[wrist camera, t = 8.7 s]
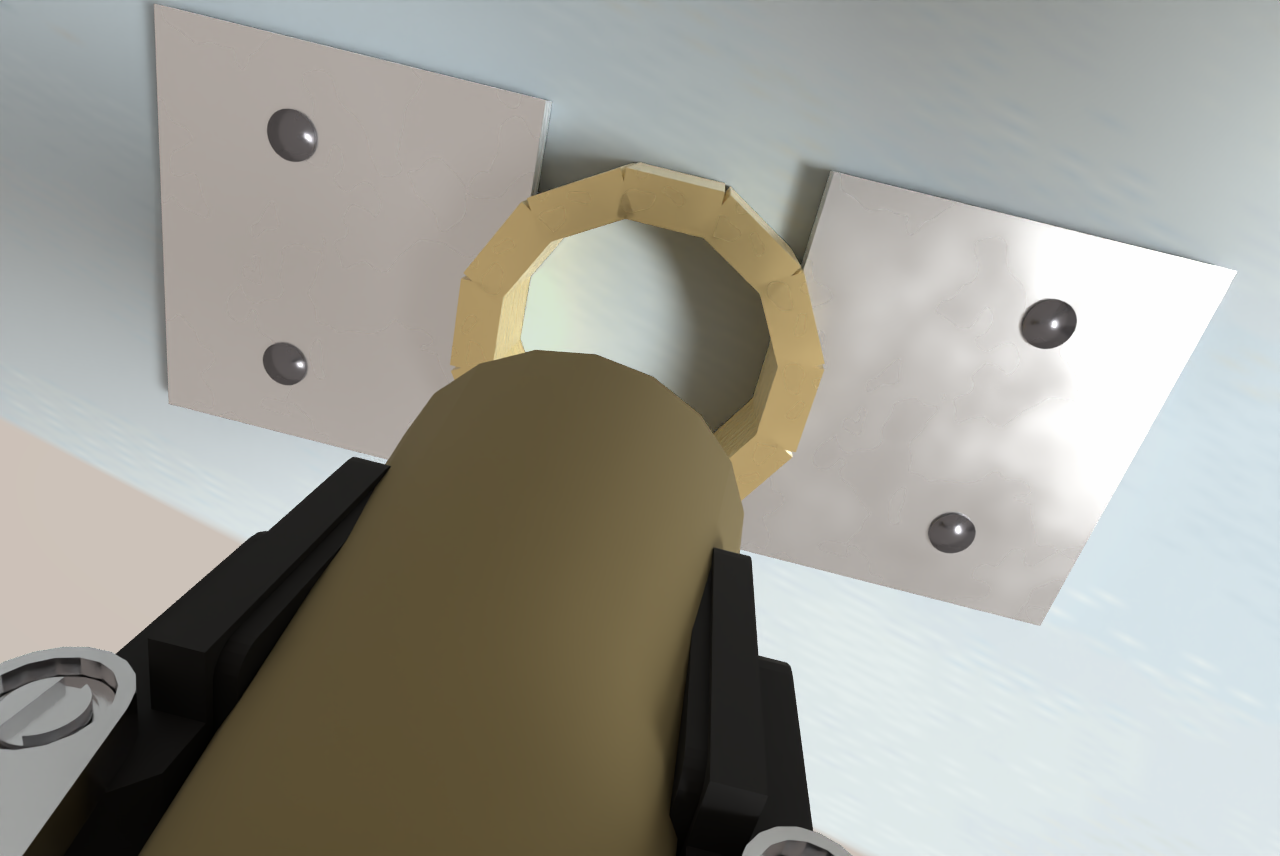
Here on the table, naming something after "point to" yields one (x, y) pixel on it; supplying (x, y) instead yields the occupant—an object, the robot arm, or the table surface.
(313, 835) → the cork
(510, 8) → the table surface
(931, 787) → the table surface
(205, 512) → the table surface
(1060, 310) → the mounting plate with ring
